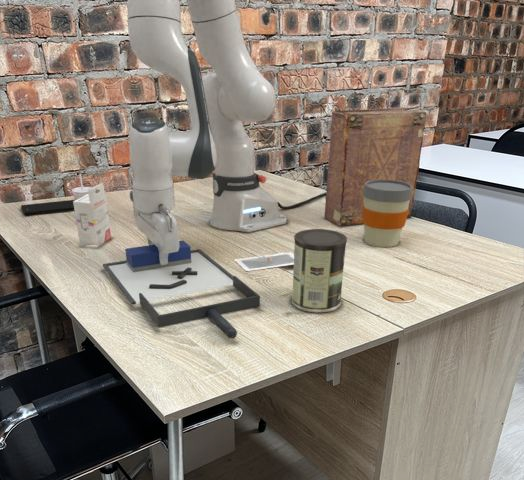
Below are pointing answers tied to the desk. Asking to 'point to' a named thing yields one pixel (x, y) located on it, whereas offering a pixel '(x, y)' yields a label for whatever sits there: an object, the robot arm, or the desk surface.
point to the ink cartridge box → (92, 217)
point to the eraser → (156, 257)
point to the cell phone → (48, 207)
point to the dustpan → (207, 310)
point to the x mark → (184, 273)
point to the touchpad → (266, 261)
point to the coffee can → (318, 270)
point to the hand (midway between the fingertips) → (158, 259)
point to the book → (370, 157)
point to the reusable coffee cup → (385, 211)
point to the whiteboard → (169, 278)
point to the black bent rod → (171, 286)
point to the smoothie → (80, 190)
